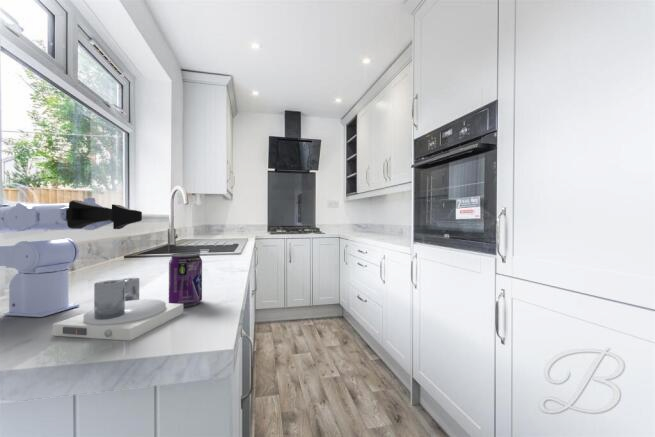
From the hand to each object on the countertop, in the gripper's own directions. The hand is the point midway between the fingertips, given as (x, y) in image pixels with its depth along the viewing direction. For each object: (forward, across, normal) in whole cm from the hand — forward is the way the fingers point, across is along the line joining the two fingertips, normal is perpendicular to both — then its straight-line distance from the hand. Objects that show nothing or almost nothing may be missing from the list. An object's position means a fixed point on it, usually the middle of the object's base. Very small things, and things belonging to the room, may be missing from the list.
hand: (126, 215), depth 60 cm
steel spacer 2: (-6, +7, +21) cm, 23 cm away
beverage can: (+7, +10, +21) cm, 24 cm away
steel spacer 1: (+4, -7, +19) cm, 20 cm away
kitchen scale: (+3, -3, +21) cm, 22 cm away
